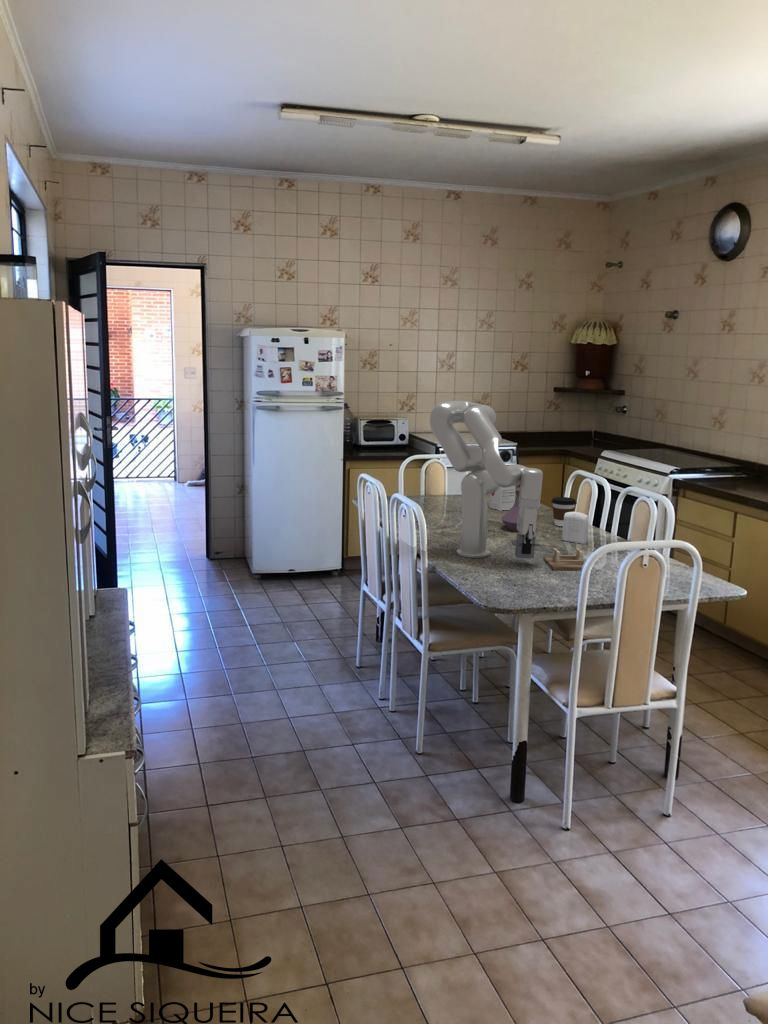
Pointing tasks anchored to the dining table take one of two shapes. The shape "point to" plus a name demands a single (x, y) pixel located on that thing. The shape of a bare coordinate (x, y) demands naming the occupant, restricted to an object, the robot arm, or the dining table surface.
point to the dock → (565, 560)
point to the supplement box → (503, 498)
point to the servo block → (518, 543)
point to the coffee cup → (562, 508)
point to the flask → (512, 514)
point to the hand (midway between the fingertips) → (524, 551)
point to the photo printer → (575, 527)
